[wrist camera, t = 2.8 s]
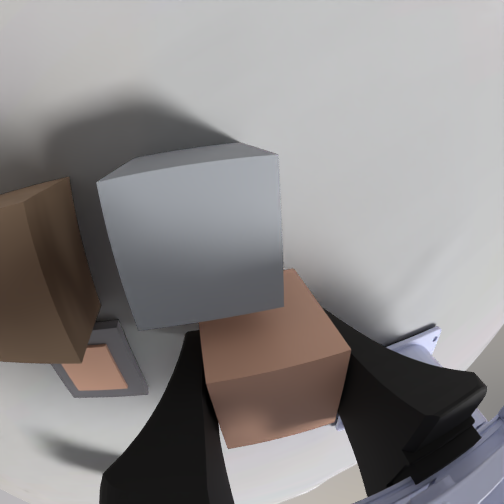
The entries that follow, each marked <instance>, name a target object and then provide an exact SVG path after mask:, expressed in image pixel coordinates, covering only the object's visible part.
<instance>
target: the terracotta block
mask: <svg viewBox="0 0 504 504" xmlns="http://www.w3.org/2000/svg"><path fill="white" fill-rule="evenodd" d="M283 279H284V307H280V308H275V309H270V310H265V311H260V312H255V313H250V314H244V315H239V316H233V317H228V318H222V319H216V320H210V321H204V322H199V329H200V338H201V347H202V356H203V364H204V372H205V379H206V385H207V388H208V391H209V395H210V398H211V401H212V404H213V407H214V410H215V413H216V416H217V419H218V422H219V425H220V428H221V431H222V434H223V436H224V439H225V442H226V445H227V448H228V449H231V448H236V447H242V446H247V445H252V444H257V443H262V442H266V441H270V440H275V439H279V438H283V437H287V436H290V435H294V434H298V433H301V432H305V431H308V430H312V429H315V428H318V427H321V426H324V425H327V424H330V423H333V422H335V419H336V415H337V411H338V407H339V403H340V399H341V395H342V391H343V386H344V382H345V378H346V373H347V368H348V364H349V359H350V354H351V348H350V347H349V346H348V344H347V343H346V341H345V340H344V338H343V337H342V336H341V334H340V333H339V331H338V330H337V328H336V327H335V326H334V324H333V323H332V321H331V320H330V318H329V317H328V316H327V314H326V313H325V311H324V310H323V309H322V307H321V306H320V304H319V303H318V302H317V300H316V299H315V297H314V296H313V295H312V293H311V292H310V290H309V289H308V288H307V286H306V285H305V283H304V282H303V281H302V279H301V278H300V277H299V275H298V274H297V272H296V271H295V270H294V269H288V270H283Z"/></svg>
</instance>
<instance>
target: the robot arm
mask: <svg viewBox="0 0 504 504" xmlns="http://www.w3.org/2000/svg"><path fill="white" fill-rule="evenodd" d="M322 309H323V310H324V311H325V313H326V314H327V316H328V317H329V318H330V320H331V321H332V323H333V324H334V326H335V327H336V328H337V330H338V331H339V333H340V334H341V336H342V337H343V338H344V340H345V341H346V343H347V344H348V346H349V347H350V348H351V354H350V359H349V364H348V368H347V373H346V378H345V382H344V386H343V391H342V395H341V399H340V403H339V407H338V411H337V412H338V414H339V417H338V420H337V423H336V430H337V431H341V430H344V429H345V430H346V433H347V435H348V438H349V441H350V443H351V446H352V449H353V451H354V454H355V457H356V460H357V463H358V466H359V469H360V472H361V476H362V479H363V483H364V486H365V490H366V494H367V496H368V497H367V498H365V499H363V500H360V501H358V502H355V503H353V504H504V406H503V407H502V408H501V410H500V411H499V413H498V414H497V415H496V416H495V417H494V418H493V419H491V420H490V421H487V419H486V418H485V417H484V416H483V414H482V413H481V412H480V411H479V410H478V408H477V407H478V405H479V404H480V403H481V401H482V400H483V398H484V397H485V395H486V392H487V386H486V385H485V384H484V383H483V382H482V381H481V380H480V378H479V377H478V376H477V375H476V374H475V373H474V372H467V371H460V370H453V369H447V368H443V367H442V366H441V365H440V364H439V362H438V361H437V360H436V359H435V358H434V357H433V356H432V353H433V351H434V348H435V346H436V343H437V341H438V338H439V336H440V333H441V328H440V327H438V326H436V327H434V328H431V329H429V330H427V331H425V332H422V333H420V334H418V335H415V336H413V337H410V338H408V339H405V340H403V341H400V342H398V343H395V344H393V345H390V346H387V347H384V346H382V345H380V344H379V343H377V342H375V341H373V340H371V339H369V338H368V337H366V336H364V335H363V334H361V333H359V332H358V331H356V330H355V329H353V328H352V327H350V326H349V325H347V324H346V323H344V322H343V321H341V320H340V319H338V318H337V317H335V316H334V315H332V314H331V313H330V312H328V311H327V310H325V309H324V308H322ZM99 504H234V500H233V496H232V493H231V489H230V484H229V480H228V476H227V472H226V467H225V463H224V458H223V453H222V448H221V443H220V435H219V424H218V419H217V416H216V413H215V410H214V407H213V404H212V401H211V398H210V395H209V391H208V388H207V385H206V379H205V372H204V364H203V356H202V347H201V338H200V330H196V331H190V332H187V333H186V334H185V338H184V343H183V346H182V350H181V353H180V356H179V359H178V361H177V364H176V367H175V369H174V372H173V374H172V377H171V379H170V381H169V383H168V386H167V388H166V390H165V392H164V394H163V396H162V398H161V400H160V402H159V403H158V405H157V407H156V409H155V410H154V412H153V414H152V415H151V417H150V418H149V420H148V421H147V423H146V425H145V426H144V427H143V429H142V430H141V432H140V433H139V434H138V436H137V437H136V438H135V439H134V441H133V442H132V443H131V444H130V445H129V447H128V448H127V449H126V450H125V452H124V453H123V454H122V455H121V456H120V457H119V458H118V459H117V460H116V461H115V462H114V463H113V464H112V465H111V466H110V467H109V468H108V469H107V470H106V471H105V472H104V473H103V476H102V481H101V486H100V500H99Z"/></svg>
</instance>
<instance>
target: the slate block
mask: <svg viewBox="0 0 504 504" xmlns="http://www.w3.org/2000/svg"><path fill="white" fill-rule="evenodd" d="M96 183H97V188H98V193H99V198H100V203H101V208H102V212H103V216H104V221H105V225H106V229H107V233H108V237H109V240H110V244H111V248H112V252H113V255H114V259H115V262H116V266H117V269H118V272H119V276H120V279H121V282H122V285H123V288H124V291H125V294H126V297H127V300H128V303H129V306H130V309H131V312H132V315H133V317H134V320H135V323H136V326H137V328H138V331H142V330H149V329H157V328H164V327H171V326H178V325H185V324H191V323H198V322H204V321H210V320H216V319H222V318H228V317H233V316H239V315H244V314H250V313H255V312H260V311H265V310H270V309H275V308H280V307H284V279H283V245H282V219H281V196H280V176H279V158H278V154H275V153H272V152H269V151H266V150H263V149H260V148H257V147H254V146H250V145H247V144H244V143H241V142H237V143H227V144H218V145H210V146H202V147H195V148H188V149H182V150H175V151H169V152H163V153H157V154H152V155H147V156H141V157H136V158H134V159H132V160H130V161H129V162H127V163H125V164H124V165H122V166H121V167H119V168H117V169H116V170H114V171H113V172H111V173H110V174H108V175H107V176H105V177H104V178H102V179H101V180H99V181H98V182H96Z"/></svg>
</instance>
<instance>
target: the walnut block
mask: <svg viewBox="0 0 504 504" xmlns="http://www.w3.org/2000/svg"><path fill="white" fill-rule="evenodd" d="M100 307H101V304H100V301H99V298H98V295H97V292H96V289H95V286H94V283H93V279H92V276H91V273H90V269H89V266H88V262H87V258H86V255H85V251H84V247H83V243H82V239H81V235H80V231H79V226H78V222H77V217H76V212H75V207H74V202H73V197H72V191H71V185H70V179H69V177H65V178H61V179H57V180H53V181H48V182H44V183H41V184H37V185H33V186H29V187H25V188H22V189H18V190H15V191H11V192H8V193H5V194H1V195H0V361H3V362H19V363H47V364H82V361H83V358H84V354H85V351H86V348H87V345H88V342H89V339H90V336H91V333H92V330H93V327H94V324H95V321H96V318H97V315H98V313H99V310H100Z"/></svg>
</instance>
